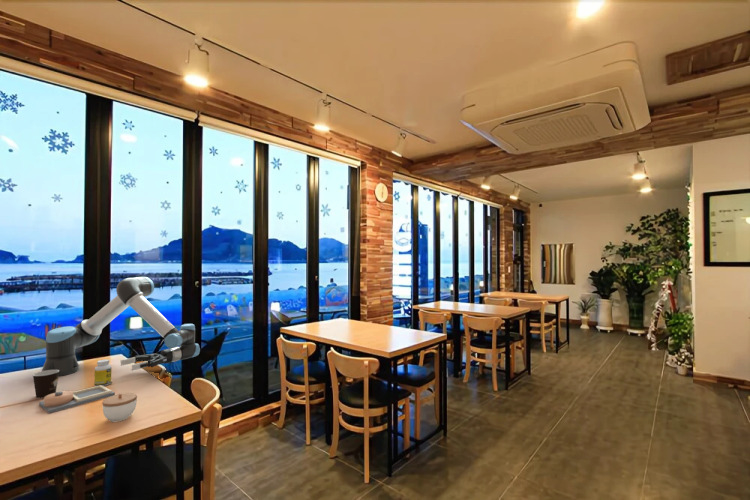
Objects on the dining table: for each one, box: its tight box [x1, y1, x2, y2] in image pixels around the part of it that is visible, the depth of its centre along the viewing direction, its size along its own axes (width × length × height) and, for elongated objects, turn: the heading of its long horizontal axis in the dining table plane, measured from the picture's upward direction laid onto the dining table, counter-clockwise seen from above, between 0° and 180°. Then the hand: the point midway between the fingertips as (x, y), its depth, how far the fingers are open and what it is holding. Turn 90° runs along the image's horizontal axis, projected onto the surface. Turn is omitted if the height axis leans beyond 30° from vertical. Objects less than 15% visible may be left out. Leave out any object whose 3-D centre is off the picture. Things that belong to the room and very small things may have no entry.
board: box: [38, 385, 116, 414], centre depth 151 cm, size 14×22×5 cm, turn 146°
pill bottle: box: [93, 358, 112, 387], centre depth 169 cm, size 6×6×12 cm
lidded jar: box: [102, 392, 138, 423], centre depth 134 cm, size 11×11×9 cm
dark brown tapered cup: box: [32, 370, 60, 399], centre depth 158 cm, size 12×9×10 cm
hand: (126, 365), depth 177 cm, fingers open, 13 cm apart
